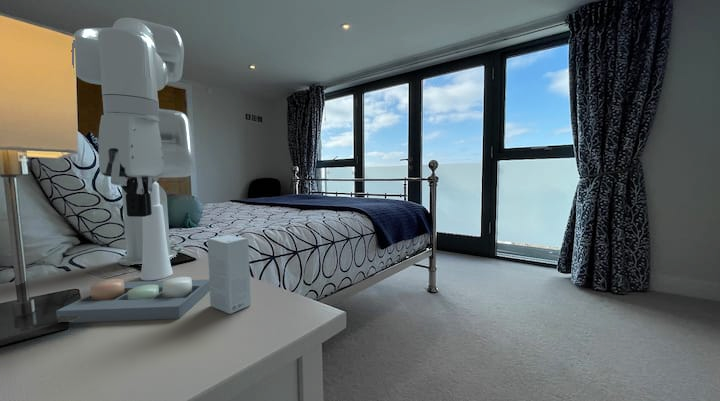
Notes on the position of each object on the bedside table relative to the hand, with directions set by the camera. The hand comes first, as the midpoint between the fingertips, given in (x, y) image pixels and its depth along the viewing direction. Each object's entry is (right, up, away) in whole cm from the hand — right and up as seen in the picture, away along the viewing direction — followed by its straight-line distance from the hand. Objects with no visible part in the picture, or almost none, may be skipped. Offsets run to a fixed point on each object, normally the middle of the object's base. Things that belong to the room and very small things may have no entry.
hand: (139, 215), depth 53 cm
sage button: (+1, -15, -1) cm, 15 cm away
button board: (+1, -16, -1) cm, 16 cm away
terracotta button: (-4, -14, -2) cm, 15 cm away
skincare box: (+17, -16, -2) cm, 23 cm away
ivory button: (+7, -14, -1) cm, 16 cm away
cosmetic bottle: (-6, -15, +13) cm, 21 cm away
